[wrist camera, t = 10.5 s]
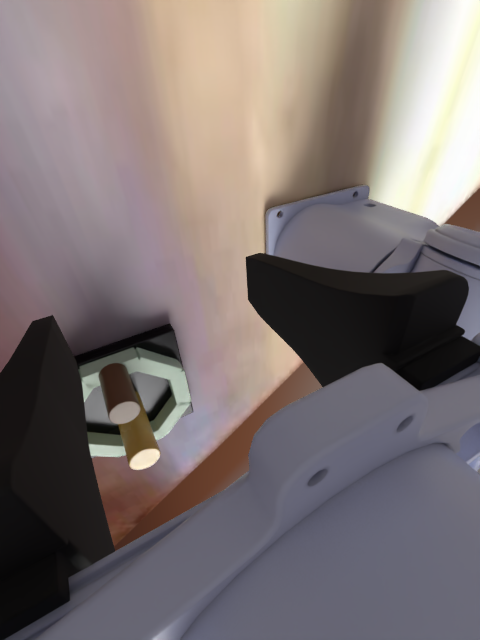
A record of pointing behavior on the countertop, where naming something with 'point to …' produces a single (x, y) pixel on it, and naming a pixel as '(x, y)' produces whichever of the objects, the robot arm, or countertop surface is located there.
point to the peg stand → (148, 391)
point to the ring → (132, 394)
